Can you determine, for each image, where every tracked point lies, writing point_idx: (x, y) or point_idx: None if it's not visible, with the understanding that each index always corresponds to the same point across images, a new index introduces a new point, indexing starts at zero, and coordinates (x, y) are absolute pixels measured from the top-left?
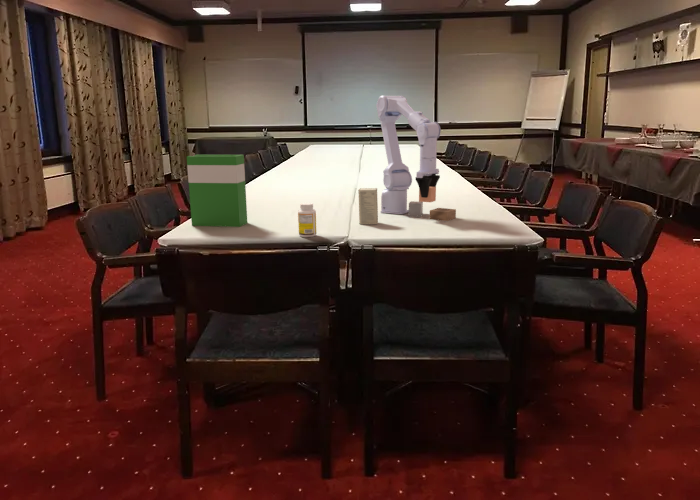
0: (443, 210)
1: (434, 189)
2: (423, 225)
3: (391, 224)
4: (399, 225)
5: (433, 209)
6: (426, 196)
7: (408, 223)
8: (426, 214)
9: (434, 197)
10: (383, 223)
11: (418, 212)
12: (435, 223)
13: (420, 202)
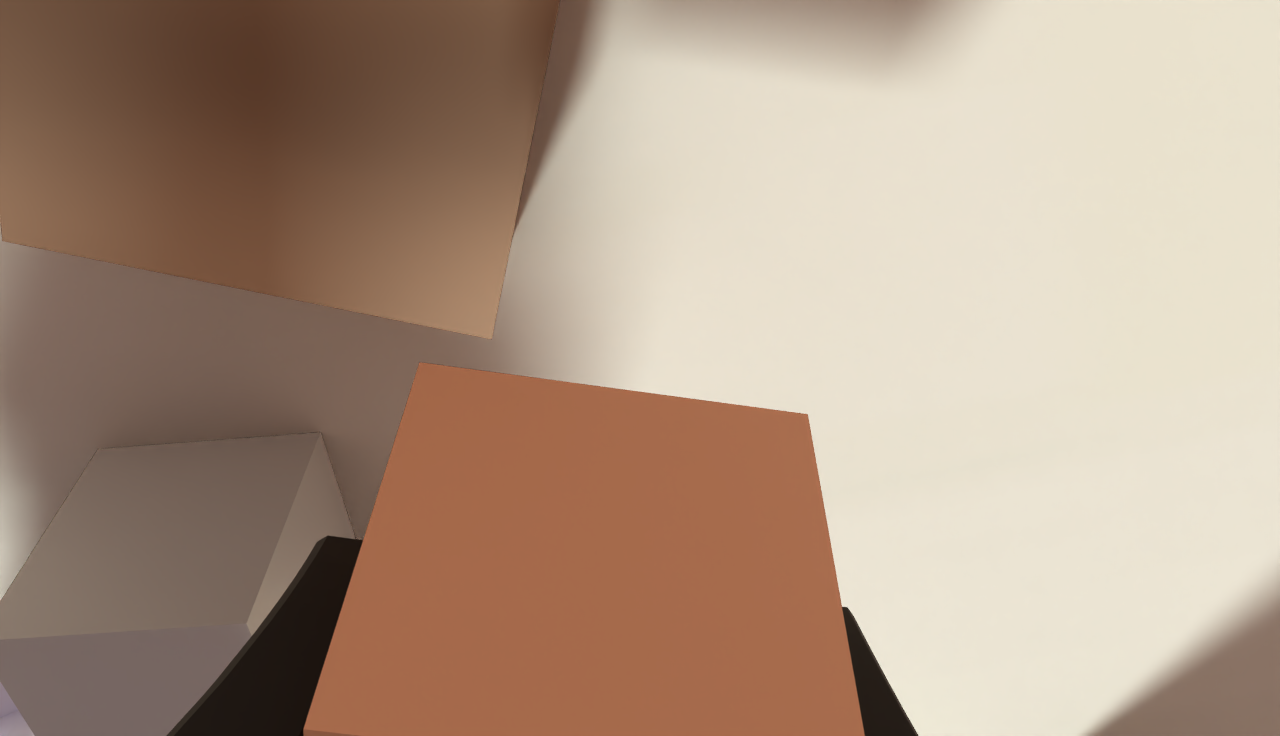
0: (349, 26)
1: (491, 667)
2: (1226, 197)
3: (1149, 640)
4: (1233, 537)
5: (312, 293)
6: (859, 639)
7: (1037, 464)
8: (24, 396)
9: (507, 449)
10: (1076, 731)
11: (313, 519)
12: (971, 15)
13: (102, 656)
